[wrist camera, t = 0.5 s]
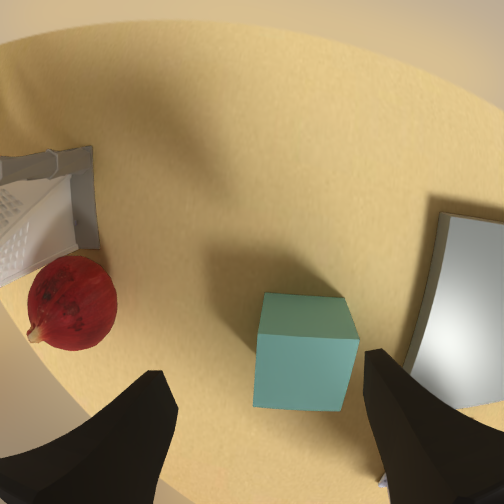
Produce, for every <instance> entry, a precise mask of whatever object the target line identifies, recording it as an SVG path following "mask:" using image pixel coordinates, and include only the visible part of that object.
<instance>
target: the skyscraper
mask: <svg viewBox="0 0 504 504" xmlns="http://www.w3.org/2000/svg"><path fill="white" fill-rule="evenodd" d="M78 249H100V242H99V233H98V225H97V215H96V204H95V191H94V176H93V152H92V146H86V147H80V148H75V149H69V150H64V151H54V150H51V149H47V150H46V151H45V152H41V153H36V154H31V155H26V156H20V157H8V156H0V288H1V287H3V286H5V285H7V284H9V283H11V282H13V281H15V280H17V279H19V278H21V277H23V276H25V275H27V274H29V273H31V272H33V271H35V270H37V269H39V268H41V267H43V266H45V265H47V264H49V263H51V262H52V261H54V260H55V259H57V258H58V257H63V256H65V255H67V254H69V253H71V252H74V251H76V250H78Z"/></svg>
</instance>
